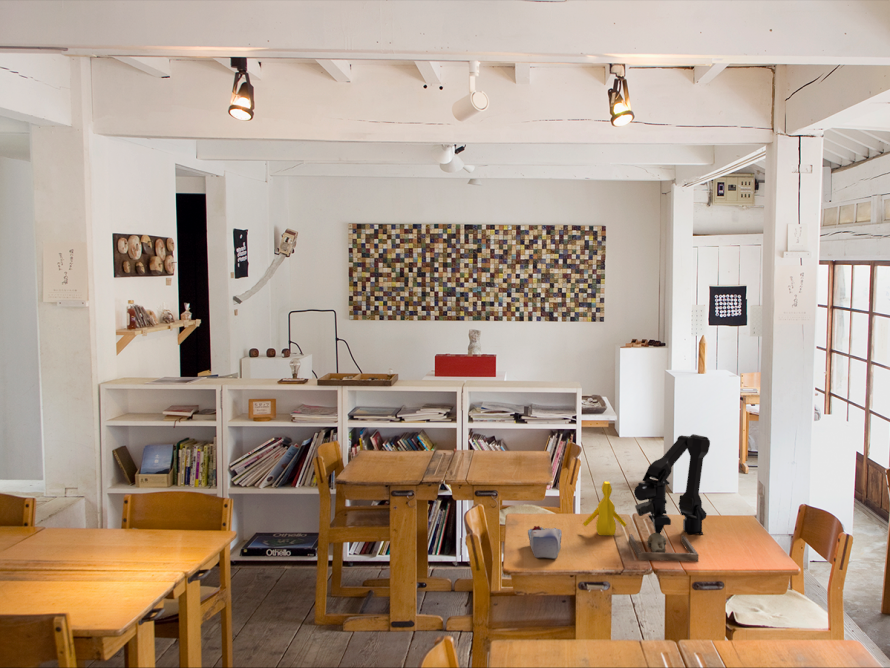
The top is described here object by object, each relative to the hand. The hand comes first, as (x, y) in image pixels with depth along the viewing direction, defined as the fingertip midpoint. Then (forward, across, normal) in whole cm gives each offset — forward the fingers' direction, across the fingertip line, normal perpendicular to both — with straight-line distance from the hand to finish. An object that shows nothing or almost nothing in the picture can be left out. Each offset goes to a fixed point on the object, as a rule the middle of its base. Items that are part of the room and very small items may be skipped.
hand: (657, 535), depth 293 cm
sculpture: (+3, +9, -2) cm, 10 cm away
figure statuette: (+3, -8, -19) cm, 21 cm away
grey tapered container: (+3, +13, -44) cm, 46 cm away
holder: (+2, +9, 0) cm, 10 cm away
